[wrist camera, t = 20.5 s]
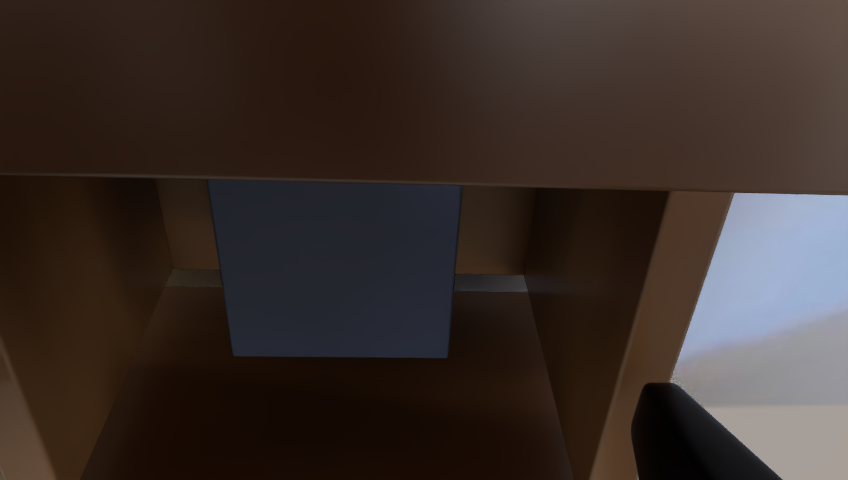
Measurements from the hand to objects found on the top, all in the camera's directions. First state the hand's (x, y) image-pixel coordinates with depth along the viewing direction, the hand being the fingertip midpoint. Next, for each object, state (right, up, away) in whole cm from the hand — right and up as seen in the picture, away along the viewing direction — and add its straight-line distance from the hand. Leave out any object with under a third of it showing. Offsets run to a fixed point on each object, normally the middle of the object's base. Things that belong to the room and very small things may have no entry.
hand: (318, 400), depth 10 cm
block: (0, +4, +6) cm, 7 cm away
